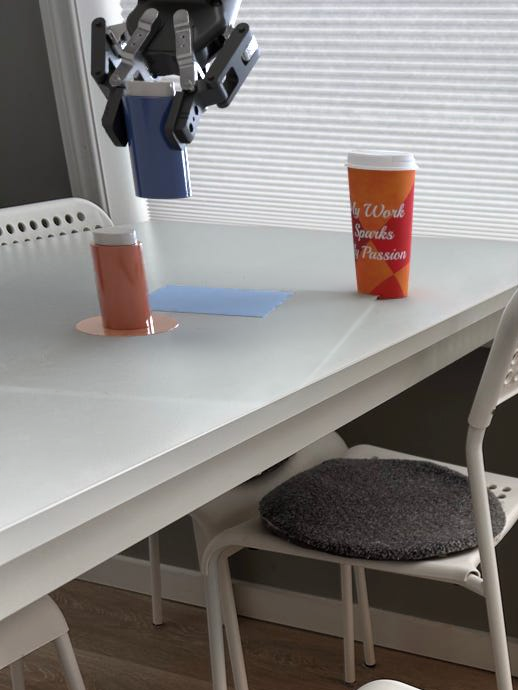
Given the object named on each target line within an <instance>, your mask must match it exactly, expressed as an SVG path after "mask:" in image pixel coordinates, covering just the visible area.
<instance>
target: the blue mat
mask: <svg viewBox="0 0 518 690" xmlns="http://www.w3.org/2000/svg"><path fill="white" fill-rule="evenodd" d="M294 294H295V291H291V292H290V291H279V290H276V291H275V290H274V291H273V290H262V289H261V290H260V289H246V288H245V289H243V288H227V287H225V288H224V287H209V286H195V285H194V286H193V285H177V284H167V285H165V286H162V287H161V288H159V289H157V290H155V291H153V292H151V293H149V299H150V307H151V312H167V313H184V314H199V315H200V314H201V315H214V316H215V315H217V316H233V317H251V318H265V317H266V316H267V315H268V314H270V313H271V312H272V311H274V310H275V309H276V308H277V307H279V306H281V304H283V303H284V302H285V301H286V300H287V299H289V298H290V297H292V295H294Z"/></svg>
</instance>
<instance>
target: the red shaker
mask: <svg viewBox="0 0 518 690" xmlns="http://www.w3.org/2000/svg"><path fill="white" fill-rule="evenodd" d="M91 232H92V239H93V241H90V242H89V243H88V246H89V251H90V258H91V264H92V271H93V276H94V281H95V283H94V284H95V288H96V294H97V301H98V307H99V312H100V316H101V320H102V325H103V326H104V327H106V328H110V329H118V330H131V329H140V328H145V327H148V326H151V325H152V323H153V321H152V314H153V313H152V311H151V307H150V299H149V294H150V292H149V284H148V278H147V271H146V263H145V256H144V249H143V242H141V241H140V240H138V239H137V231H136V230H135V229H134V228H130V227H129V228H128V227H100V228H95V229H93V230H91Z"/></svg>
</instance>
